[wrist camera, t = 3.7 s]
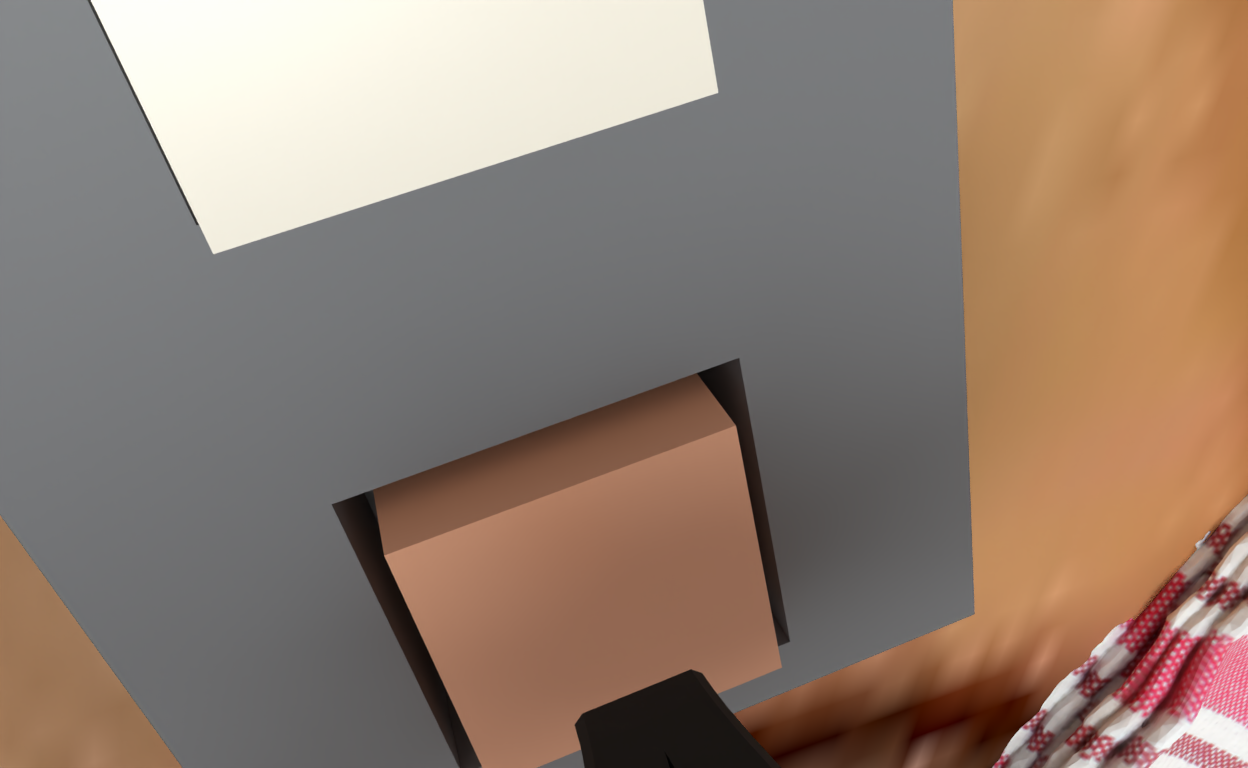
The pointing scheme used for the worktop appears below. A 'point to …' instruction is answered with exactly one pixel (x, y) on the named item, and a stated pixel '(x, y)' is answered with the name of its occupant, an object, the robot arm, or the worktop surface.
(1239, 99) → the worktop surface
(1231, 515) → the dish towel
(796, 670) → the button console
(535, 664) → the terracotta button
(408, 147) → the cream button
